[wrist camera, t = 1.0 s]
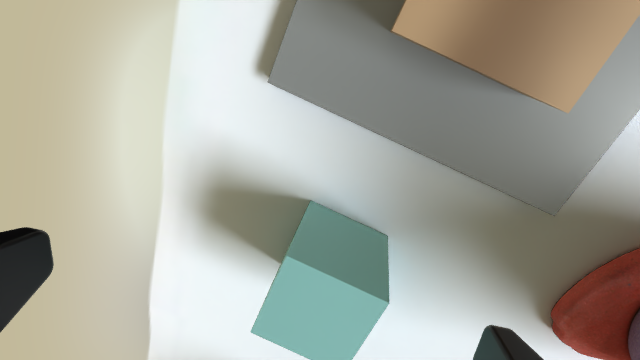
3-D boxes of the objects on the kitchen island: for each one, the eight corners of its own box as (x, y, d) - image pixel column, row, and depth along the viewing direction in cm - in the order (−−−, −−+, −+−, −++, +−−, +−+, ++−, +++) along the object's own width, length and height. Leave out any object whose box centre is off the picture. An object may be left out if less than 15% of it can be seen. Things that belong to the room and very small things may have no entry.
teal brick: (387, 235, 22) (389, 303, 16) (351, 295, 24) (342, 374, 18) (310, 200, 22) (286, 255, 16) (281, 263, 24) (250, 332, 18)
